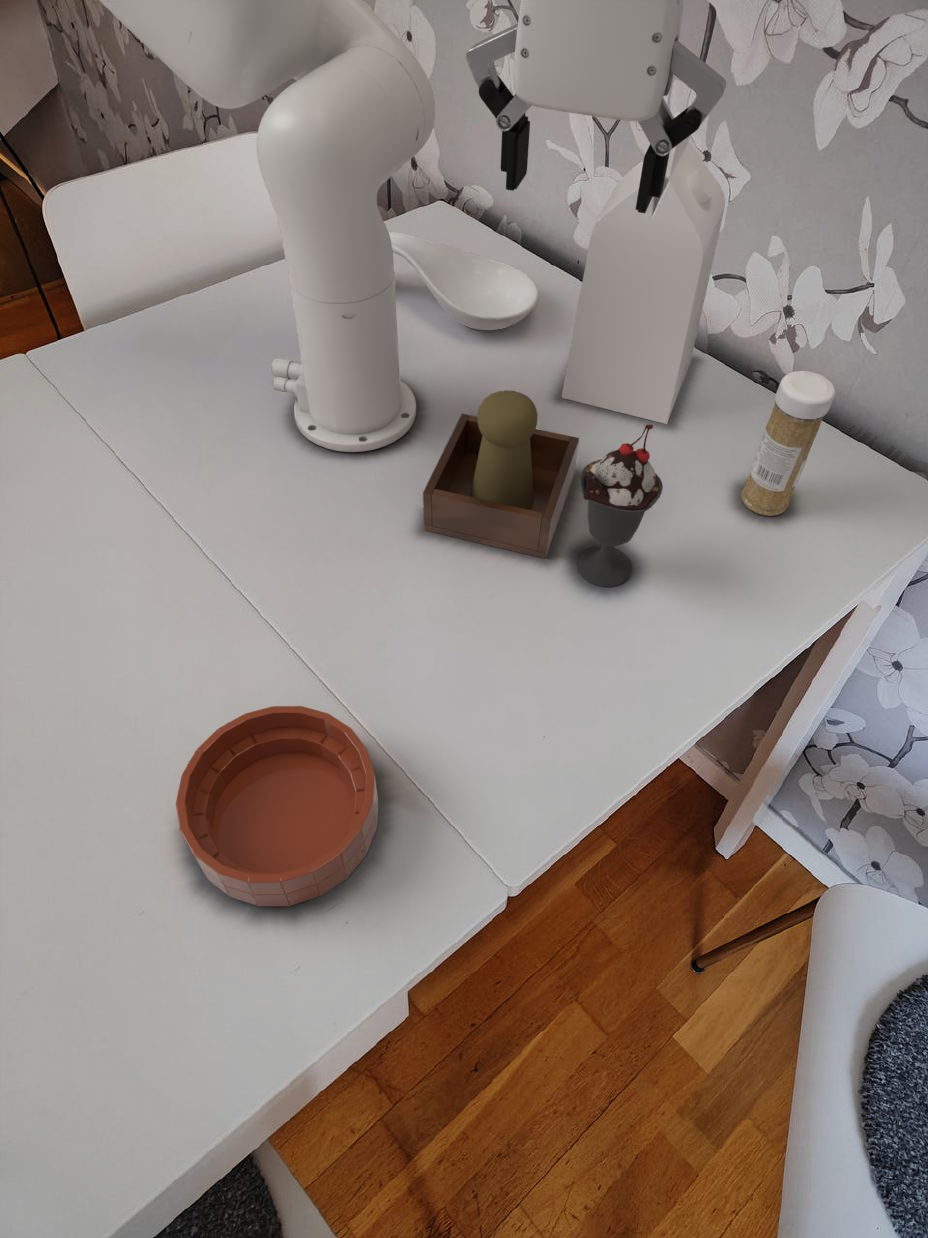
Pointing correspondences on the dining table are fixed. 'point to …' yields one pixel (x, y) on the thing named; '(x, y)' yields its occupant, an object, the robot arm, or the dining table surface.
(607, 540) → the sundae
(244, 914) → the dining table surface
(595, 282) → the milk
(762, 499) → the sprinkles bottle
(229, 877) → the bowl
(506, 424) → the olive brown knobbed cylinder
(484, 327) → the spoon rest
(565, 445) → the holder
